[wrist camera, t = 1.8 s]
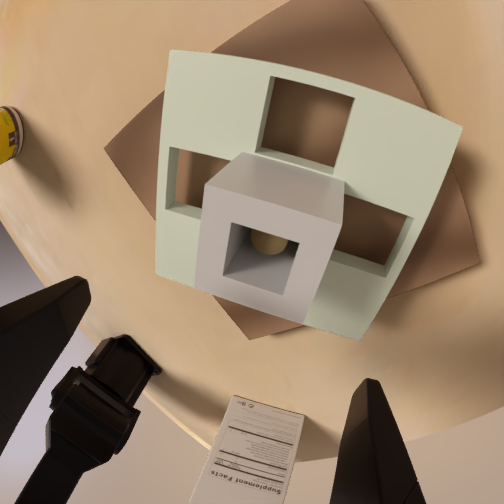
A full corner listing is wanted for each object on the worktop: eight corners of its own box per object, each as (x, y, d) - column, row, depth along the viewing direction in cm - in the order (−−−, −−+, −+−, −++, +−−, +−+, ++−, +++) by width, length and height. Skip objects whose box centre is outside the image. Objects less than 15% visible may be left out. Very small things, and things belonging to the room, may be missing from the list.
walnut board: (471, 245, 18) (504, 316, 12) (255, 323, 27) (229, 390, 21) (342, -17, 12) (338, -62, 7) (120, 140, 21) (51, 174, 15)
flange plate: (455, 122, 12) (504, 153, 8) (360, 328, 20) (355, 399, 16) (181, 49, 14) (111, 51, 9) (163, 264, 22) (119, 318, 17)
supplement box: (288, 442, 38) (259, 539, 26) (225, 423, 39) (185, 518, 27) (308, 414, 33) (276, 536, 21) (232, 392, 34) (183, 509, 22)
